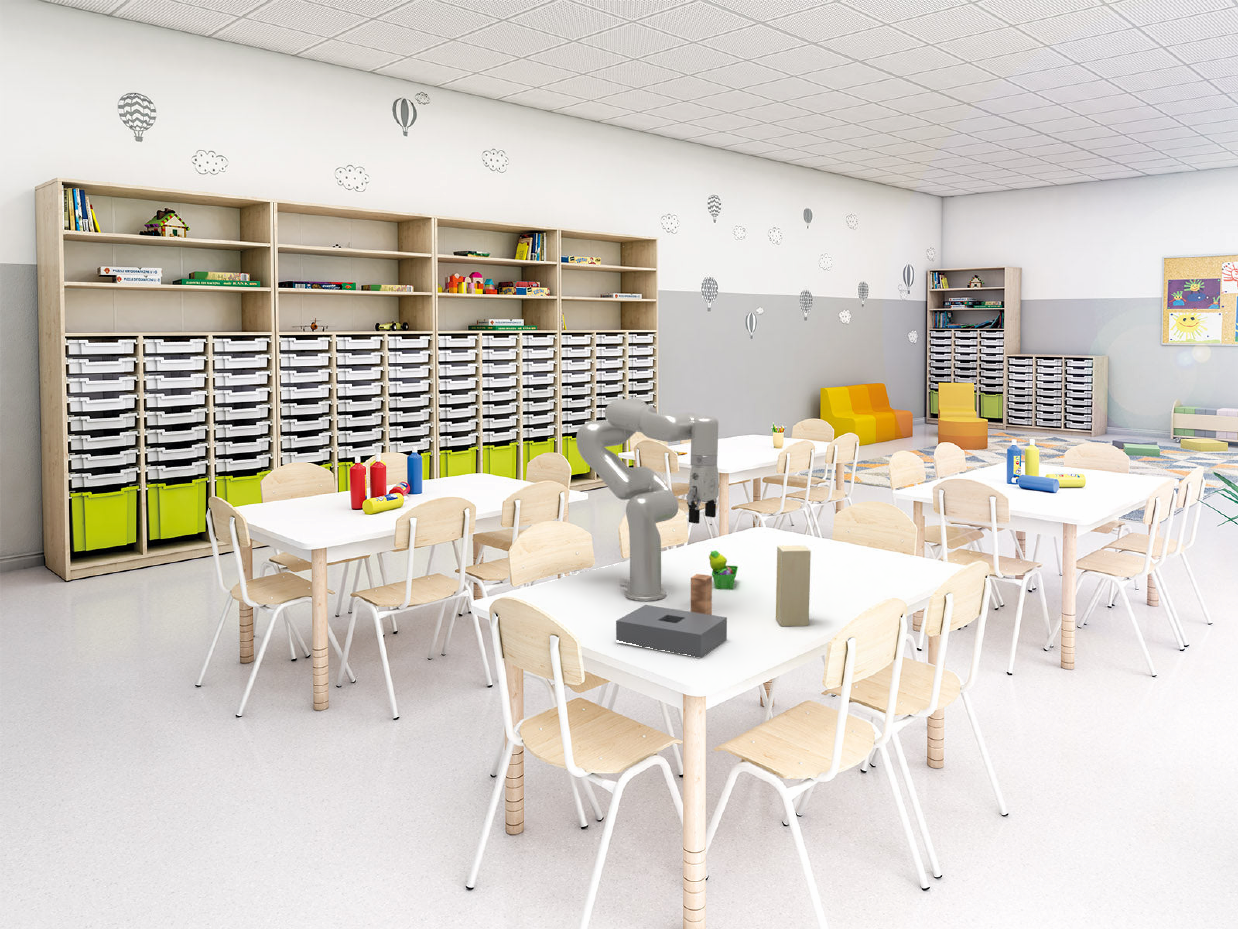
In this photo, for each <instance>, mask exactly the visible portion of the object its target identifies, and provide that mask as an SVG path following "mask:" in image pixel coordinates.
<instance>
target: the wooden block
mask: <svg viewBox="0 0 1238 929" xmlns="http://www.w3.org/2000/svg"><path fill="white" fill-rule="evenodd" d="M712 598H713V577H712V575H709V574H701V573H697V574H695V575H692V576H691V577H690V612H696V613H702V614H709V615H713V610H712V609H713V603H712V602H713V600H712Z"/></svg>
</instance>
